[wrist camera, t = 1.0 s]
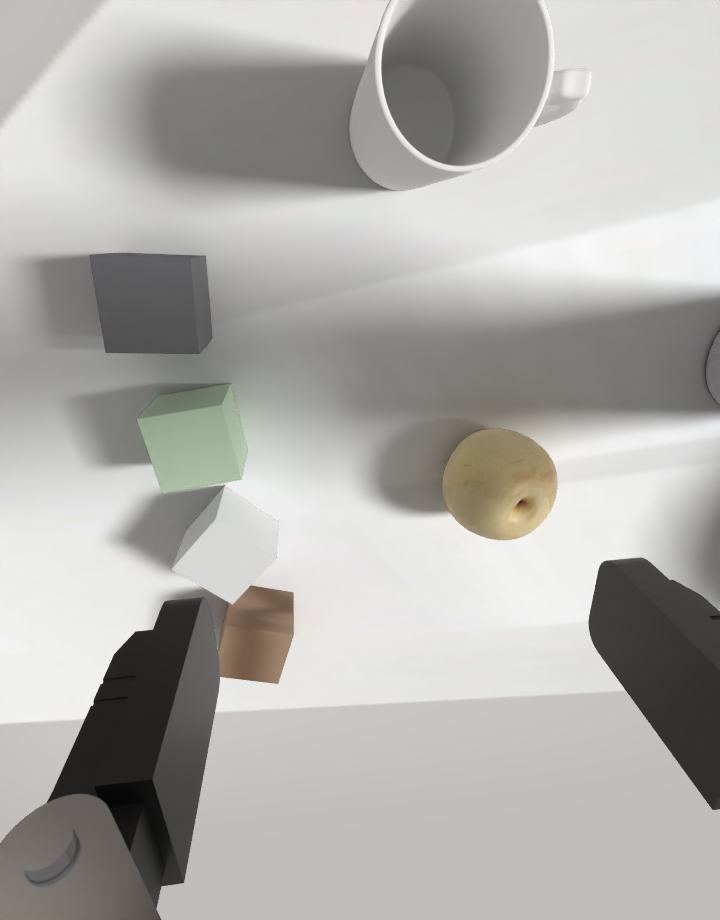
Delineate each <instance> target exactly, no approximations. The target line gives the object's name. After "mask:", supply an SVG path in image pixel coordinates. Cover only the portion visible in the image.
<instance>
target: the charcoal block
mask: <svg viewBox="0 0 720 920" xmlns="http://www.w3.org/2000/svg"><path fill="white" fill-rule="evenodd" d="M90 261H91V267H92V273H93V279H94V285H95V291H96V297H97V303H98V309H99V315H100V321H101V327H102V333H103V339H104V345H105V351H106V353H165V354H200V352H201V351H202V350H203V349H204V348H205V346H206V345H207V344H208V343H209V342H210V340H211V339H212V329H211V316H210V304H209V292H208V279H207V267H206V256H195V255H167V254H140V253H111V254H97V255H90Z"/></svg>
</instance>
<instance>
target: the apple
mask: <svg viewBox="0 0 720 920" xmlns="http://www.w3.org/2000/svg"><path fill="white" fill-rule="evenodd" d="M442 489H443V496H444V500H445V503H446V505H447V507H448V509H449V511H450V513H451V514H452V516H453V517H454V518H455V520H456V521H457V522H458V523H460V524H461V525H462V526H463V527H464V528H466V529H467V530H469V531H471V532H473V533H475V534H477V535H480V536H483V537H486V538H490V539H496V540H512V539H517V538H520V537H523V536H525V535H527V534H529V533H530V532H532V531H533V530H535V529H536V528H537V527H538V526H539V525H540V524H541V523H542V522H543V521H544V520H545V519H546V517H547V516H548V515H549V513H550V511H551V509H552V507H553V504H554V501H555V498H556V493H557V473H556V469H555V466H554V463H553V461H552V459H551V457H550V456H549V454H548V453H547V452H546V451H545V450H544V449H543V448H542V447H541V446H540V445H539V444H537V443H536V442H535V441H533V440H532V439H530V438H528V437H527V436H524V435H522V434H520V433H517V432H514V431H509V430H503V429H485V430H481V431H478V432H476V433H473V434H471V435H469V436H468V437H466V438H465V439H464V440H463V441H462V442H461V443H460V444H459V445H458V446H457V447H456V449H455V450H454V452H453V453H452V455H451V456H450V458H449V460H448V462H447V465H446V467H445V471H444V475H443V482H442Z"/></svg>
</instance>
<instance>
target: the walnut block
mask: <svg viewBox="0 0 720 920" xmlns="http://www.w3.org/2000/svg"><path fill="white" fill-rule="evenodd" d="M293 635H294V612H293V592H287V591H281V590H275V589H268V588H262V587H256V586H250V587H249V588H248V589H247V590H246V591H245V592H244V593H243V594H242V595H241V596H240V597H239V598H238V599H237V601H236V602H235V603H234V604H233V605H232V604H231V603H229V602H228V606H227V610H226V614H225V618H224V622H223V626H222V630H221V635H220V641H219V646H218V655H219V662H220V677H225V678H234V679H242V680H250V681H259V682H267V683H275V684H278V682H279V679H280V676H281V673H282V670H283V667H284V663H285V660H286V657H287V654H288V651H289V648H290V645H291V642H292V638H293Z"/></svg>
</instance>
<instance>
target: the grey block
mask: <svg viewBox="0 0 720 920" xmlns="http://www.w3.org/2000/svg"><path fill="white" fill-rule="evenodd" d="M278 525H279V521H278V520H276V519H275V518H273V517H272V516H270V515H269V514H267V513H266V512H264V511H263V510H261V509H260V508H258V507H257V506H255V505H254V504H253V503H251V502H250V501H248V500H247V499H245V498H244V497H242V496H241V495H239V494H238V493H236V492H235V491H233V490H232V489H230V488H229V487H227V486H226V485H225V486H224V487H223V488H222V489H221V491H220V492H219V493H218V494H217V495H216V496H215V498H214V499H213V500H212V501H211V502H210V503H209V505H208V506H207V507H206V508H205V509H204V510H203V511H202V513H201V514H200V515H199V516H198V517H197V518H196V520H195V521H194V522H193V523H192V524H191V525H190V526H189V528H188V529H187V530H186V531H185V534H184V537H183V540H182V542H181V545H180V548H179V550H178V553H177V556H176V558H175V561H174V564H173V567H172V569H171V570H173V571H175V572H176V573H178V574H180V575H182V576H183V577H185V578H187V579H189V580H190V581H192V582H194V583H196V584H197V585H199V586H201V587H203V588H204V589H206V590H208V591H210V592H211V593H213V594H215V595H217V596H218V597H220V598H222V599H224V600H225V601H227V602H229V603H231V604H232V605H233V604H234V603H235V602H236V601H237V599H238V598H239V597H240V596H241V595H242V594H243V593H244V592H245V591H246V590H247V589H248V588H249V587H250V586H251V585H252V584H253V582H254V581H255V580H256V579H257V578H258V577H259V576H260V575H261V574H262V573H263V572H264V571H265V570H266V569H267V568H268V567H269V566H270V564H271V563H272V562H273V561H274V560H275V559H276V558H277V544H278Z"/></svg>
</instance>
